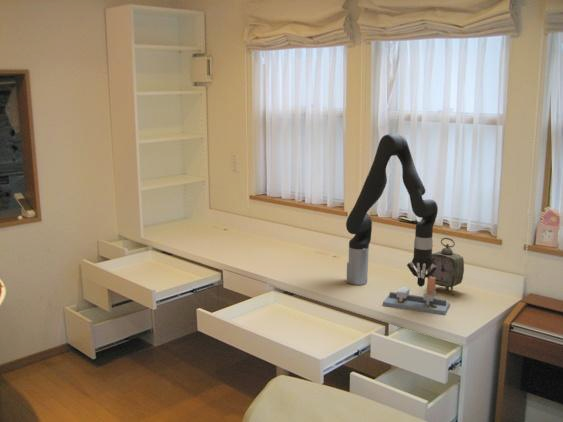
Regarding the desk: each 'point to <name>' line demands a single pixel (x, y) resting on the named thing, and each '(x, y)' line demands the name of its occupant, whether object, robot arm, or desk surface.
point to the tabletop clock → (447, 267)
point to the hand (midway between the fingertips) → (420, 286)
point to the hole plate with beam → (415, 302)
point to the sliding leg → (430, 290)
